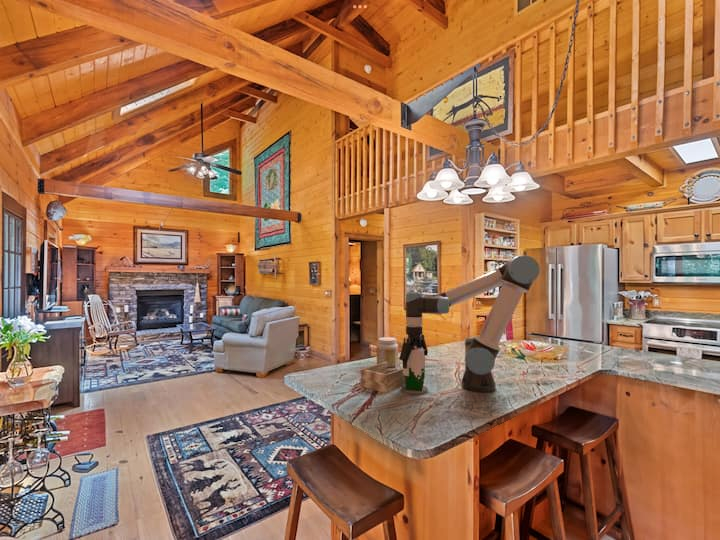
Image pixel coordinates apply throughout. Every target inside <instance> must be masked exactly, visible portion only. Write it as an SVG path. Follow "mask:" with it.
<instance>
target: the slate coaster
mask: <svg viewBox="0 0 720 540" xmlns="http://www.w3.org/2000/svg"><path fill="white" fill-rule="evenodd" d="M428 390H429V389H428V387H427V386H426V385H423V389H422V391H415V390H406V385H404V386H402V387H400V391H401V392H402V393H404V394H407V395H411V396H413V395H414V396H419V395H420V396H421V395H425V394H427V393H428V392H429V391H428Z"/></svg>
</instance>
